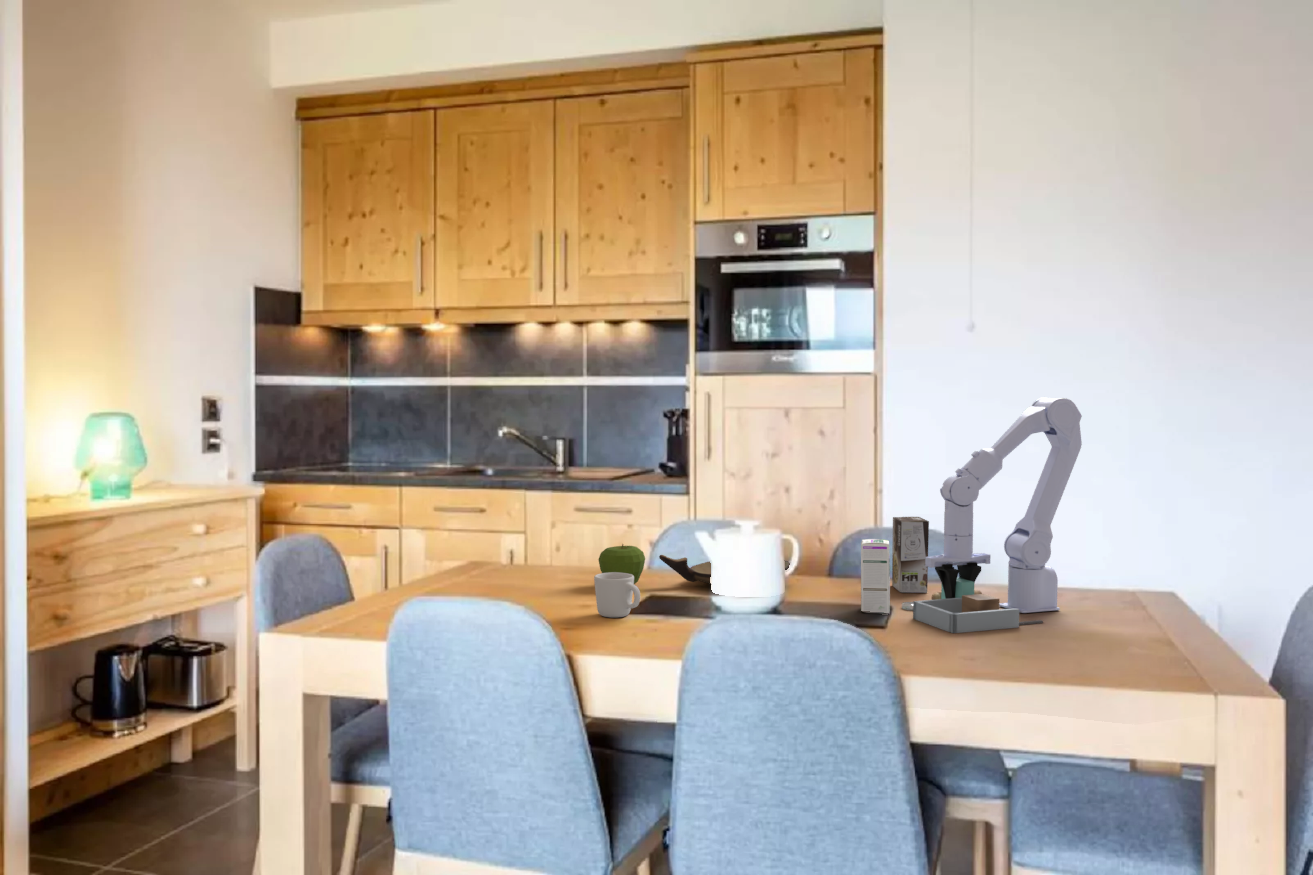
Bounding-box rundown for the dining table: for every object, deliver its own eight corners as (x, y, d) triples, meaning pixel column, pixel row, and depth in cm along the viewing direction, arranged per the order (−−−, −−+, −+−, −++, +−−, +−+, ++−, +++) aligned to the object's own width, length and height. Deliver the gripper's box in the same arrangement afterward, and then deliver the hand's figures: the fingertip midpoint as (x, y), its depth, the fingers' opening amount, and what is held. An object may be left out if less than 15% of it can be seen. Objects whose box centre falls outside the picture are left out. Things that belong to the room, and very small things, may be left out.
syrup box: (889, 615, 214) (890, 543, 214) (859, 613, 215) (860, 542, 215) (889, 609, 220) (890, 539, 219) (860, 607, 221) (861, 538, 220)
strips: (1010, 612, 217) (1010, 610, 217) (1043, 623, 208) (1043, 620, 208) (985, 614, 215) (985, 612, 215) (1017, 625, 206) (1017, 623, 206)
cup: (652, 617, 211) (652, 577, 210) (624, 624, 205) (624, 582, 205) (614, 609, 218) (614, 570, 218) (585, 615, 212) (585, 575, 212)
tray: (976, 613, 216) (976, 596, 216) (1018, 627, 204) (1019, 609, 204) (913, 618, 211) (913, 601, 211) (952, 633, 199) (952, 614, 198)
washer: (915, 607, 224) (915, 601, 223) (927, 611, 219) (927, 605, 219) (897, 608, 222) (897, 602, 222) (909, 612, 218) (909, 606, 218)
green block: (953, 604, 223) (953, 576, 223) (974, 611, 217) (974, 581, 217) (941, 605, 222) (941, 576, 222) (961, 612, 216) (962, 582, 216)
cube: (982, 618, 212) (983, 593, 211) (998, 624, 207) (999, 598, 207) (961, 620, 210) (962, 595, 210) (977, 626, 205) (977, 600, 205)
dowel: (977, 599, 231) (978, 588, 231) (984, 601, 229) (984, 590, 229) (928, 603, 227) (929, 592, 227) (935, 605, 225) (935, 594, 225)
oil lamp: (791, 597, 232) (791, 562, 232) (655, 592, 237) (655, 558, 237) (794, 578, 254) (795, 547, 254) (670, 574, 259) (670, 543, 259)
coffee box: (928, 593, 237) (929, 521, 236) (899, 593, 237) (900, 520, 236) (919, 585, 246) (920, 516, 245) (891, 585, 246) (892, 515, 245)
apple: (624, 580, 250) (625, 538, 249) (655, 587, 242) (655, 543, 242) (588, 586, 242) (588, 543, 242) (618, 593, 235) (619, 548, 234)
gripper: (976, 530, 225) (975, 594, 226) (917, 533, 220) (916, 598, 221) (997, 534, 218) (996, 600, 219) (937, 538, 214) (936, 605, 214)
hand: (957, 600), depth 220 cm, fingers closed on green block, 3 cm apart
